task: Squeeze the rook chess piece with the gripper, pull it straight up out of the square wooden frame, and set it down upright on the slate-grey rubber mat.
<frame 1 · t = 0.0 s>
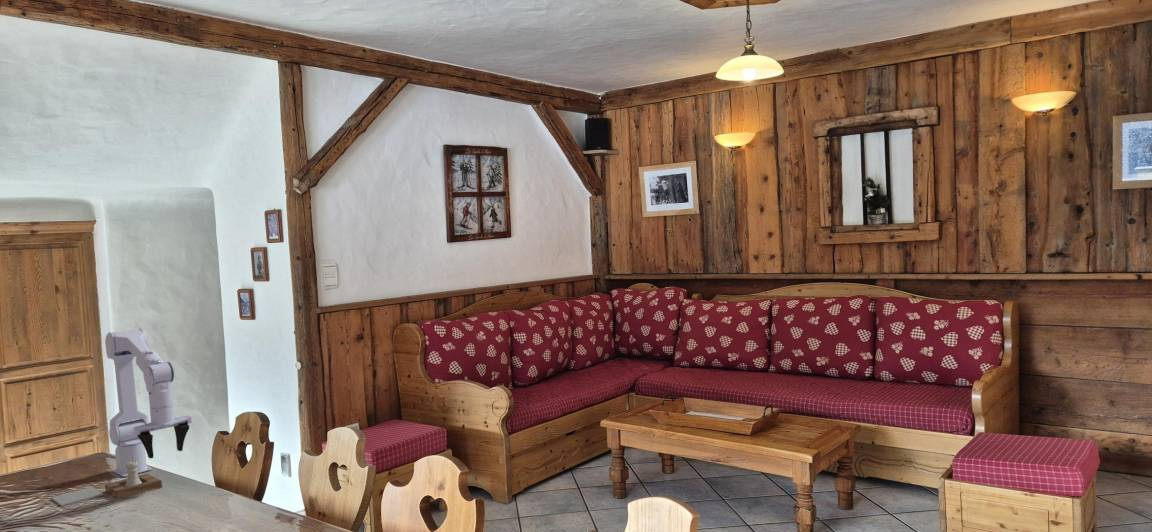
hand: (165, 454, 212), 10 cm above the table, fingers open, 7 cm apart
rook chess piece: (134, 490, 214), resting in square wooden frame
slate mat: (77, 497, 210), on the table
square wooden frame: (133, 489, 214), on the table
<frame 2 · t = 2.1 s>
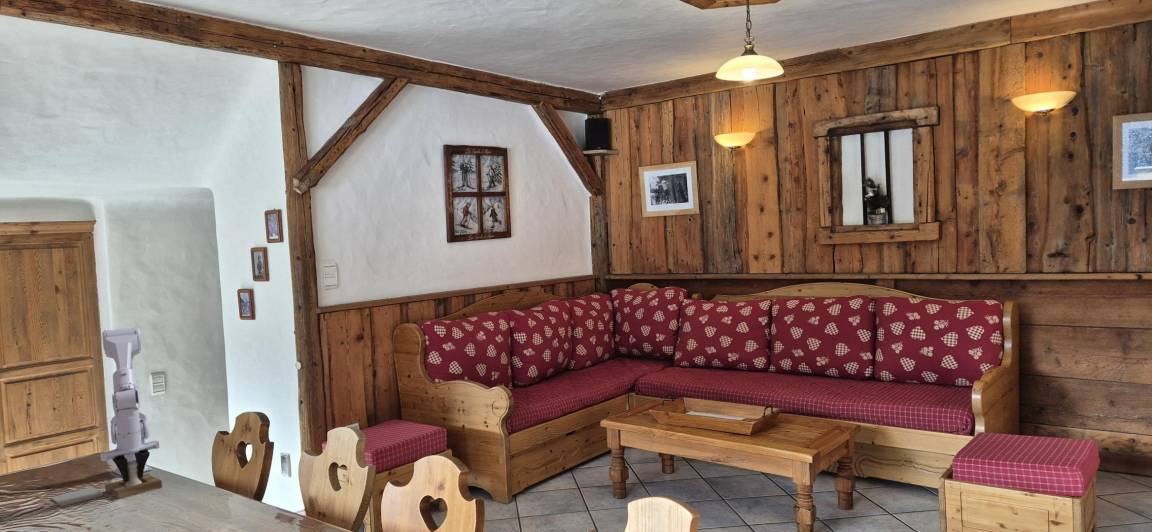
hand: (133, 479, 214), 3 cm above the table, fingers closed on rook chess piece, 3 cm apart
rook chess piece: (133, 490, 214), resting in square wooden frame, touching gripper
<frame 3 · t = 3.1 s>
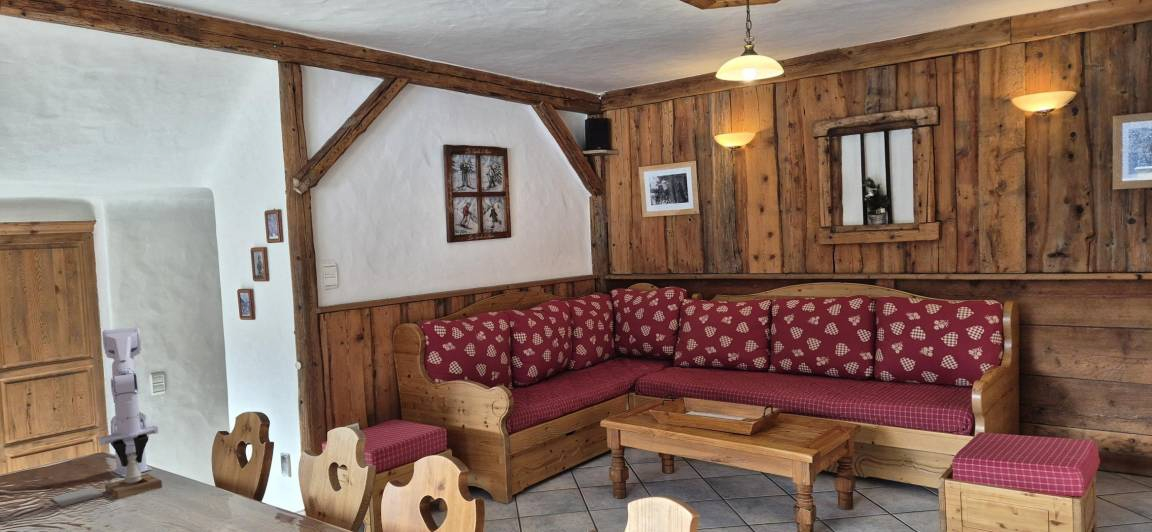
hand: (131, 464, 214), 7 cm above the table, fingers closed on rook chess piece, 3 cm apart
rook chess piece: (133, 481, 214), point 2 cm above the table, touching gripper
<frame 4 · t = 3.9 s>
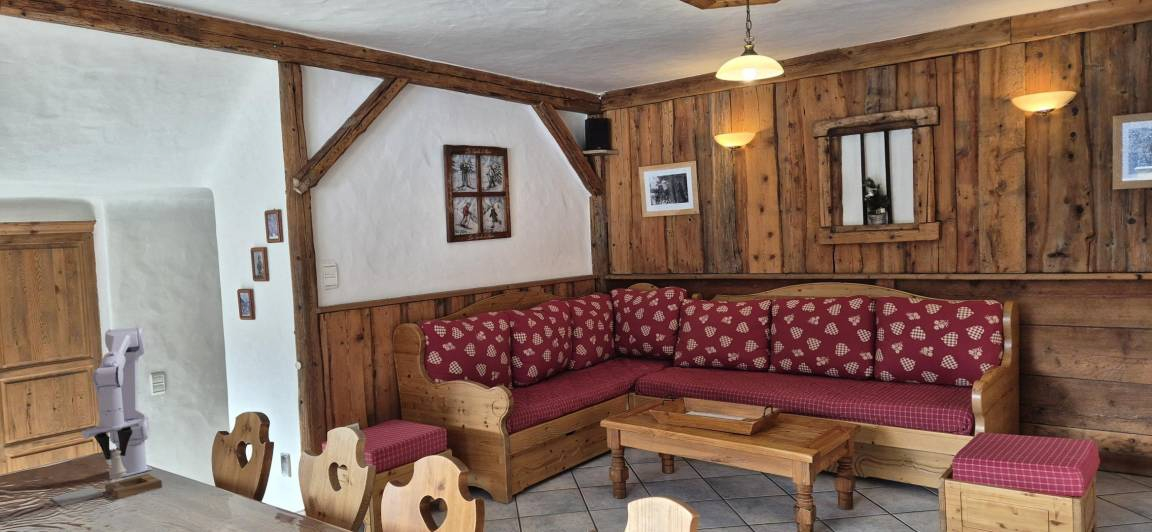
hand: (115, 457, 213), 10 cm above the table, fingers closed on rook chess piece, 3 cm apart
rook chess piece: (118, 477, 213), point 4 cm above the table, touching gripper
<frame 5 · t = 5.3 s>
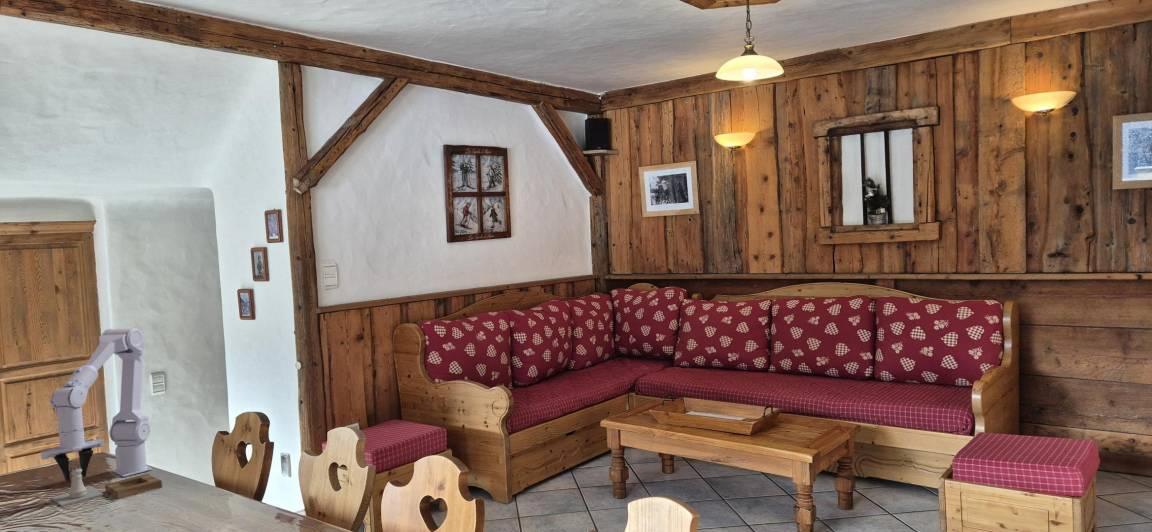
hand: (75, 478, 210), 5 cm above the table, fingers closed on rook chess piece, 3 cm apart
rook chess piece: (78, 496, 209), resting on slate mat, touching gripper
when the fingers open (5 cm above the table, at t = 5.8 s): rook chess piece stays where it is, resting on slate mat.
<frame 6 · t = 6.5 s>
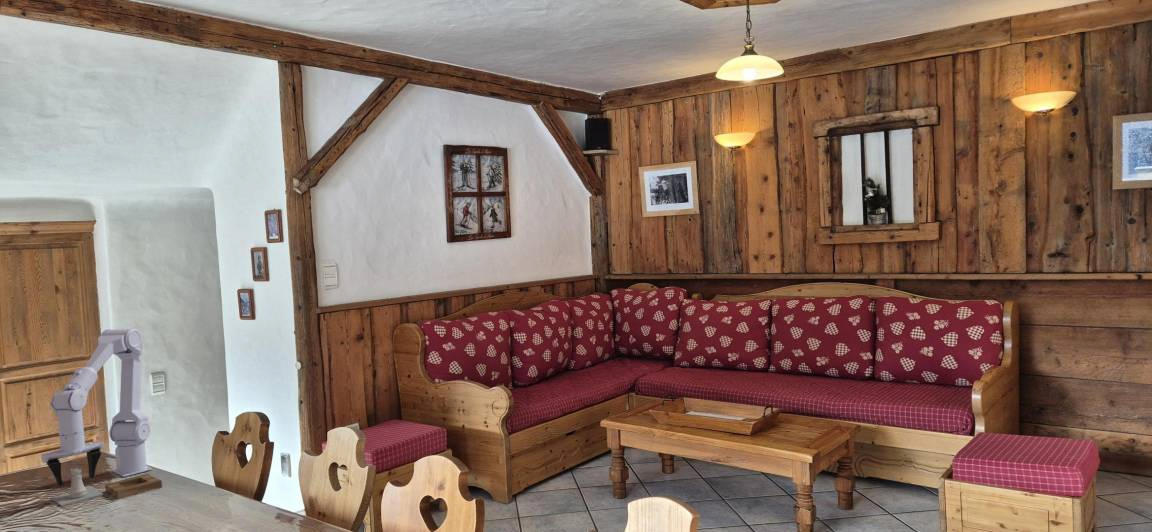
hand: (76, 481, 210), 5 cm above the table, fingers open, 7 cm apart
rook chess piece: (78, 496, 209), resting on slate mat
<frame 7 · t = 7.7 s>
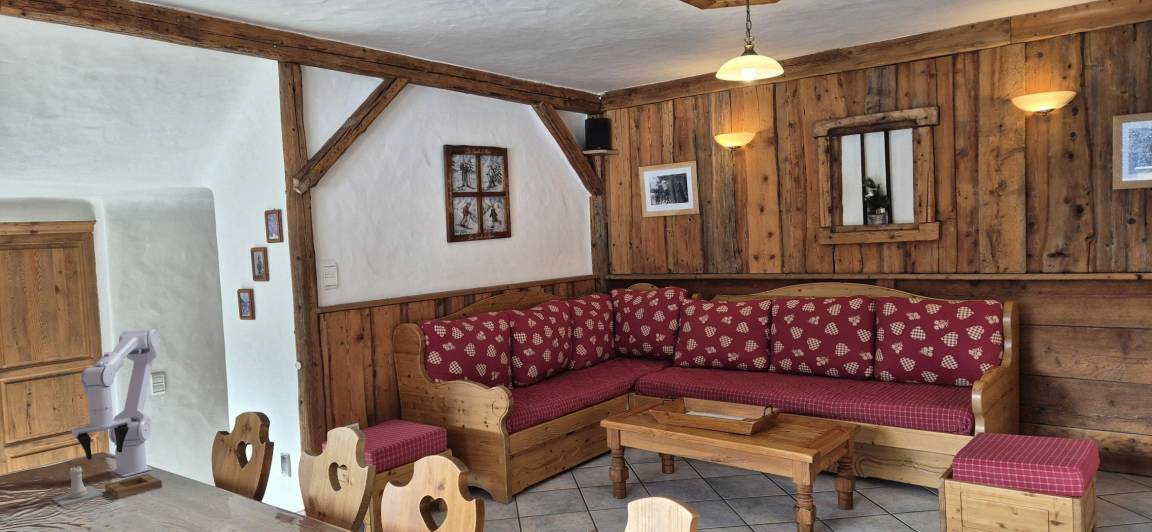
hand: (104, 455, 217), 9 cm above the table, fingers open, 7 cm apart
nothing on the table moved.
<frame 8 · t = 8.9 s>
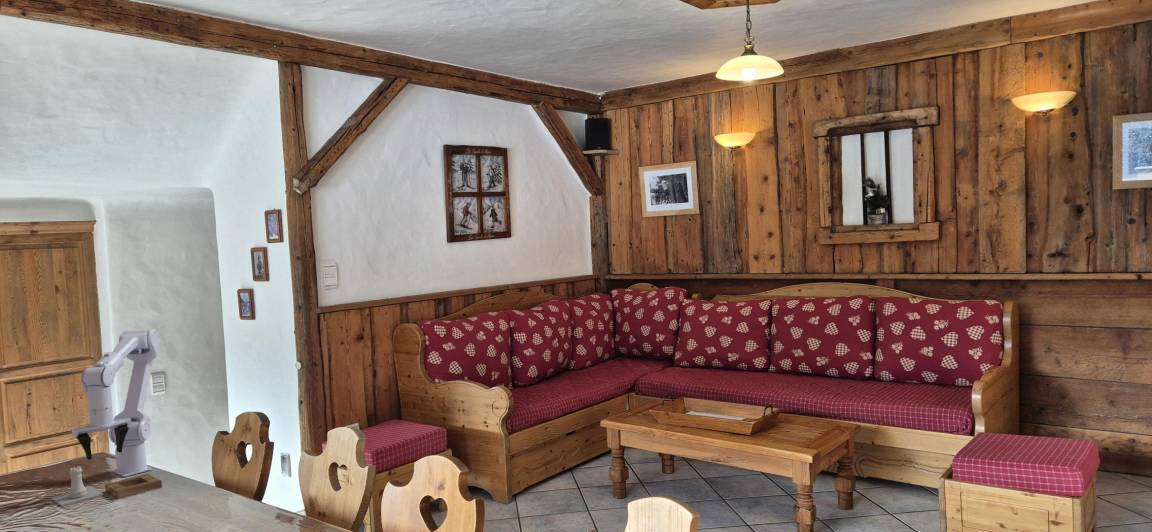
hand: (104, 455, 217), 9 cm above the table, fingers open, 7 cm apart
nothing on the table moved.
at the end: rook chess piece 0.8 cm off-centre on the slate mat, point 0.3 cm above the slate mat's base; rook chess piece tilted 0°; the gripper is holding nothing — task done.
